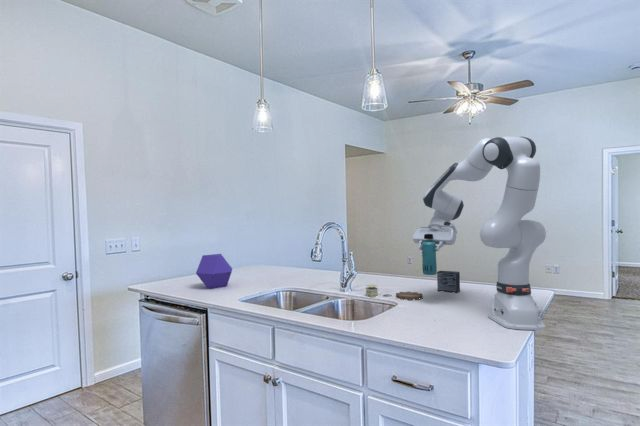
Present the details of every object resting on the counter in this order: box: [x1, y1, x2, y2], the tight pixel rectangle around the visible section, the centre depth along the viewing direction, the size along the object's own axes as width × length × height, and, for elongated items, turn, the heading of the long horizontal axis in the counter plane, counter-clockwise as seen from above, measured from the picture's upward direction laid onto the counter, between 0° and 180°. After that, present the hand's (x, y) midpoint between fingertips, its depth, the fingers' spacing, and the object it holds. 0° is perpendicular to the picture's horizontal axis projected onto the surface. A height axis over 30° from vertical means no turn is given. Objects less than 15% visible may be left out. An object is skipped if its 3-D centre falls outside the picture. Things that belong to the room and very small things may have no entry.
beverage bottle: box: [421, 234, 438, 276], centre depth 178 cm, size 6×7×20 cm
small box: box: [436, 270, 461, 294], centre depth 205 cm, size 11×6×10 cm, turn 58°
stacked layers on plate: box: [365, 283, 379, 298], centre depth 197 cm, size 10×9×6 cm
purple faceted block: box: [195, 253, 233, 290], centre depth 227 cm, size 22×20×20 cm
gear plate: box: [395, 291, 424, 301], centre depth 192 cm, size 13×13×2 cm
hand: (428, 249), depth 177 cm, fingers closed on beverage bottle, 6 cm apart
